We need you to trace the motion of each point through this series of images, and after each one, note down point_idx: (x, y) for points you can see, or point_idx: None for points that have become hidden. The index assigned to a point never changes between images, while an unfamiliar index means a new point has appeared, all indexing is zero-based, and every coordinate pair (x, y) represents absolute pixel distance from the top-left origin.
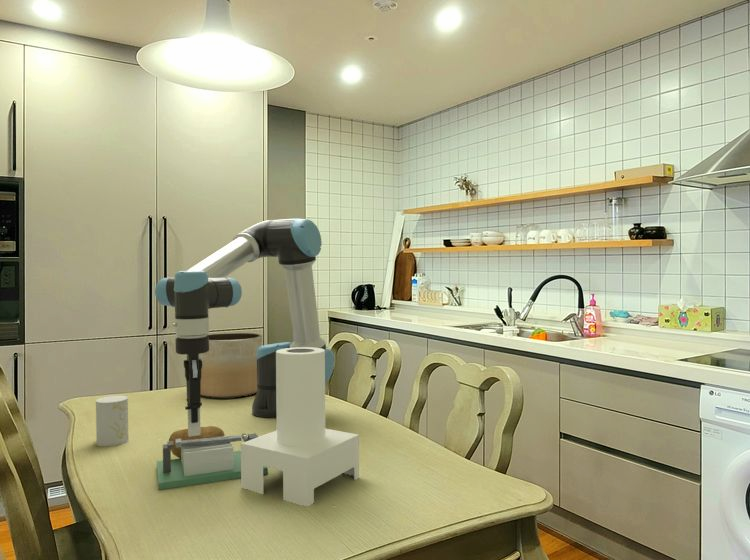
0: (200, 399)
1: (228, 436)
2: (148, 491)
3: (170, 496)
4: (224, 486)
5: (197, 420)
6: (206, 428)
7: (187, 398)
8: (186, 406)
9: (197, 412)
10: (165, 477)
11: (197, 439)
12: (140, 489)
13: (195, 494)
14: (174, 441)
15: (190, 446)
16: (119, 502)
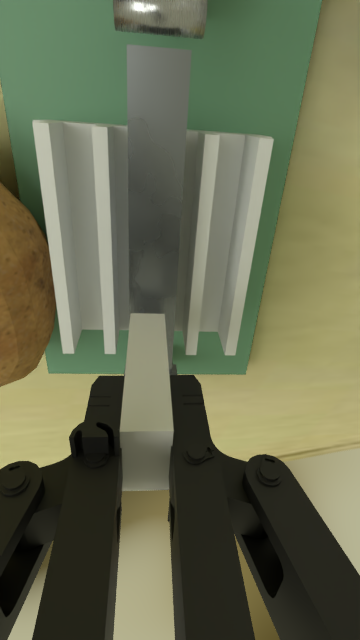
0: (328, 532)
1: (134, 139)
2: (235, 381)
3: (301, 340)
4: (330, 191)
5: (200, 386)
6: None
7: (45, 553)
8: (168, 516)
9: (206, 426)
10: (210, 358)
11: (135, 310)
12: (211, 395)
13: (331, 284)
14: (32, 369)
15: None
16: (266, 427)
